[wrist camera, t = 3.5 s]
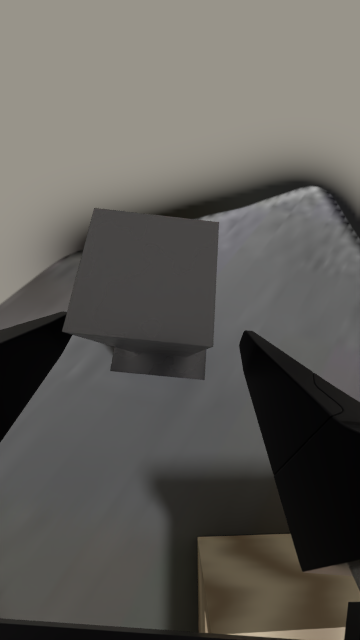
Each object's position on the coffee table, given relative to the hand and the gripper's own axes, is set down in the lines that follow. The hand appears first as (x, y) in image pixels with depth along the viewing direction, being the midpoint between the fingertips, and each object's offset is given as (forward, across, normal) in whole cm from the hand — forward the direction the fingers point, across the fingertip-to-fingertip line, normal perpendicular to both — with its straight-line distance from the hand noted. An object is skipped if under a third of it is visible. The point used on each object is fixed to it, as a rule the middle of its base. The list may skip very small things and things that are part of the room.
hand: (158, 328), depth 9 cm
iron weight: (+7, 0, +6) cm, 9 cm away
